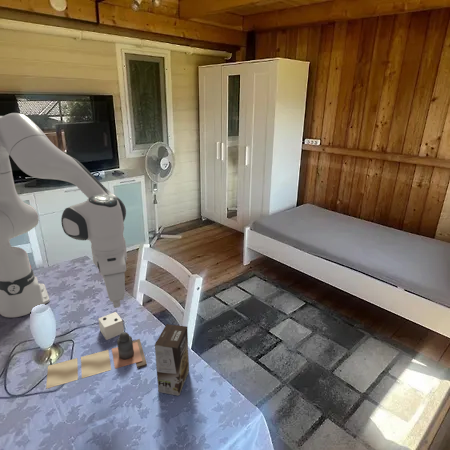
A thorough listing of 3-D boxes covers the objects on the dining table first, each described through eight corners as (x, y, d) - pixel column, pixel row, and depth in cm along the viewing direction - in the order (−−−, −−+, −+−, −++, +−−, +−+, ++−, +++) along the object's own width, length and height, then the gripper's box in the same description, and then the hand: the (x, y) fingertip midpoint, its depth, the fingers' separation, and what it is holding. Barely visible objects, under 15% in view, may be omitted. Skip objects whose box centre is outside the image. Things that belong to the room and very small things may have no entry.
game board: (45, 365, 98) (44, 363, 98) (139, 340, 109) (139, 338, 108) (42, 396, 88) (41, 394, 87) (147, 365, 98) (146, 363, 98)
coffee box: (180, 396, 88) (177, 348, 82) (157, 392, 89) (153, 345, 84) (190, 370, 96) (188, 325, 91) (169, 367, 98) (166, 322, 92)
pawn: (118, 351, 102) (115, 330, 100) (132, 347, 104) (130, 327, 101) (120, 361, 99) (116, 339, 96) (134, 357, 100) (132, 335, 97)
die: (100, 333, 112) (98, 317, 110) (117, 326, 116) (115, 310, 113) (106, 342, 108) (104, 326, 105) (124, 335, 111) (122, 319, 109)
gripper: (95, 241, 97) (100, 281, 102) (100, 273, 80) (106, 320, 85) (117, 238, 99) (121, 278, 104) (127, 268, 82) (131, 314, 87)
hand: (114, 297), depth 94 cm, fingers open, 8 cm apart
